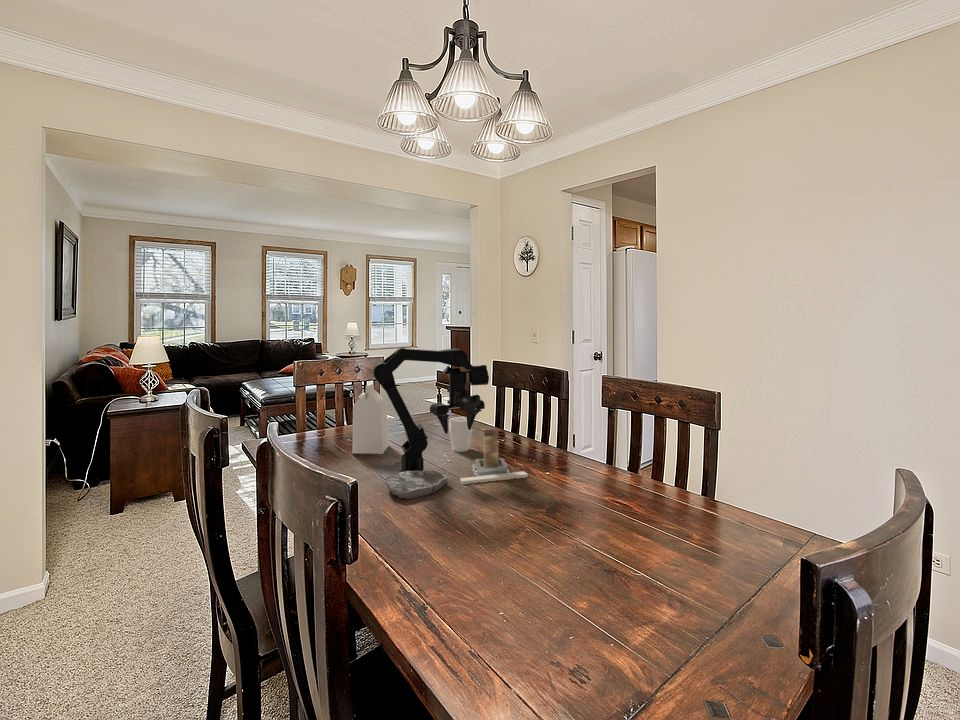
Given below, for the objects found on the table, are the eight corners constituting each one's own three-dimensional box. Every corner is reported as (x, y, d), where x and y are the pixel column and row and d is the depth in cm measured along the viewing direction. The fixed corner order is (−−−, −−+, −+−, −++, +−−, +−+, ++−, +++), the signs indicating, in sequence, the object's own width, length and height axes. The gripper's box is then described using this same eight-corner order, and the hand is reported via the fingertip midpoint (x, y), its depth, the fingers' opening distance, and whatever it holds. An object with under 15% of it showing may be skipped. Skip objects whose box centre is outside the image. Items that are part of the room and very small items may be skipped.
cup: (462, 454, 185) (462, 423, 183) (444, 450, 190) (444, 419, 189) (476, 448, 192) (476, 418, 190) (459, 445, 197) (459, 415, 196)
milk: (382, 455, 184) (381, 386, 181) (352, 454, 184) (350, 386, 182) (389, 446, 196) (387, 381, 193) (360, 445, 196) (358, 381, 194)
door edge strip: (462, 484, 153) (462, 481, 153) (459, 481, 156) (459, 478, 156) (527, 477, 159) (527, 474, 159) (524, 474, 162) (524, 471, 162)
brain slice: (417, 475, 163) (417, 466, 162) (455, 486, 152) (455, 477, 152) (370, 492, 147) (369, 482, 147) (408, 506, 137) (408, 496, 136)
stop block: (484, 471, 163) (484, 433, 162) (483, 466, 168) (483, 429, 167) (498, 470, 164) (498, 432, 162) (496, 466, 168) (496, 429, 167)
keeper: (474, 476, 160) (474, 468, 160) (472, 465, 171) (472, 458, 171) (510, 475, 161) (510, 467, 161) (506, 465, 172) (506, 457, 172)
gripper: (445, 392, 153) (446, 440, 155) (494, 386, 164) (494, 432, 165) (428, 387, 162) (429, 433, 164) (475, 382, 173) (475, 426, 174)
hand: (458, 431), depth 167 cm, fingers open, 9 cm apart
